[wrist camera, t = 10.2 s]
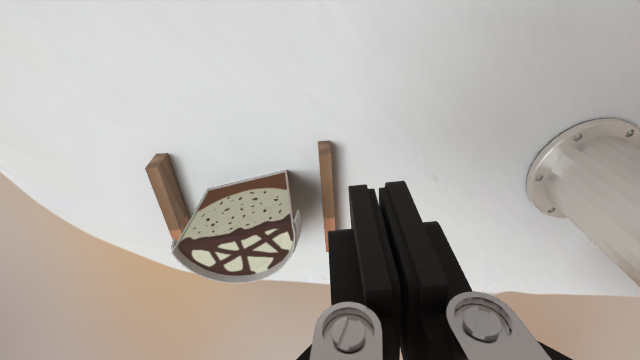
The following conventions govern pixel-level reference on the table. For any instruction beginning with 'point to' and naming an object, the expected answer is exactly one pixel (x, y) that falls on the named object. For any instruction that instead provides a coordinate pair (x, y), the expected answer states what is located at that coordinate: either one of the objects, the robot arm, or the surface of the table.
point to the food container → (241, 230)
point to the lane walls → (175, 207)
